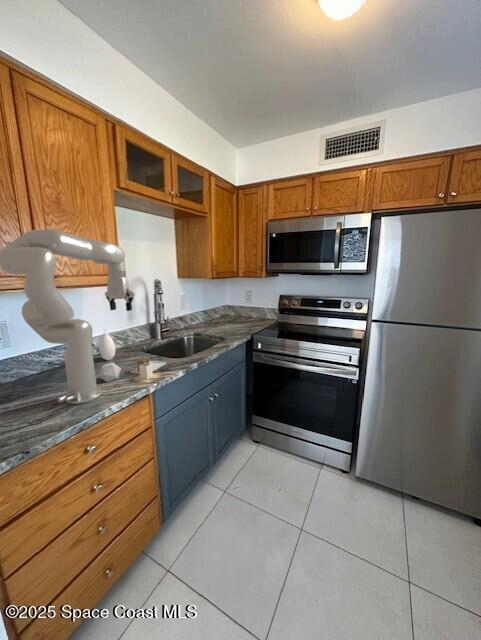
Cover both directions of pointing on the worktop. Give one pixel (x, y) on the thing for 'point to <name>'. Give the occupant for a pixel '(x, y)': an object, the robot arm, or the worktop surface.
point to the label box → (145, 371)
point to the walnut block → (142, 362)
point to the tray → (154, 366)
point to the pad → (146, 379)
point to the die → (109, 372)
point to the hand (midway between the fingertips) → (121, 310)
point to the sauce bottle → (107, 347)
